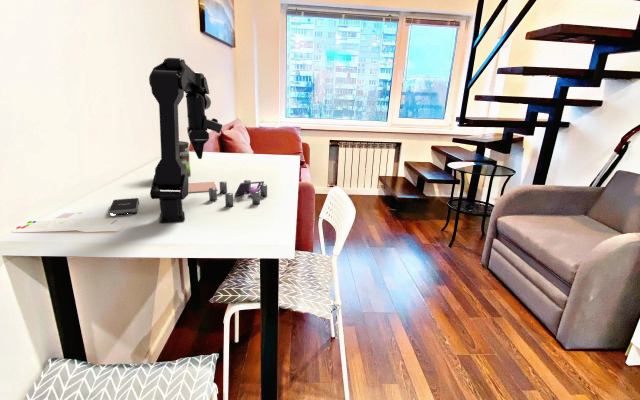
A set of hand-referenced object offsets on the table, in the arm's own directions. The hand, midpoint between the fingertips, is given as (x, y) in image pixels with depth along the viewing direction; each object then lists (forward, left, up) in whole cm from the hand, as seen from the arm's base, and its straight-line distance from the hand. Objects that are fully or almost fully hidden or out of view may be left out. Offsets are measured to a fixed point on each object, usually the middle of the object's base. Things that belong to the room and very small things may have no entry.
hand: (199, 156), depth 124 cm
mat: (0, 0, -12) cm, 12 cm away
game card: (-16, -11, -10) cm, 22 cm away
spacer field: (-16, -11, -12) cm, 23 cm away
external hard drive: (-18, +23, -12) cm, 32 cm away
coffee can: (+19, +8, -12) cm, 24 cm away
